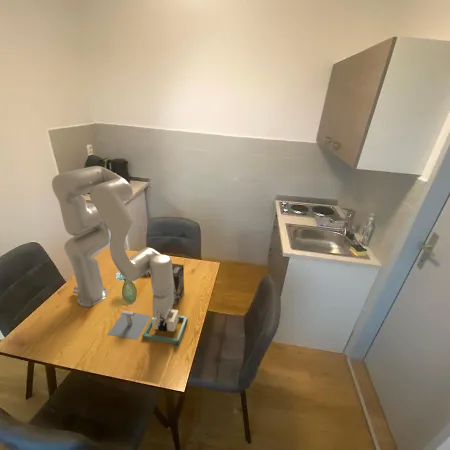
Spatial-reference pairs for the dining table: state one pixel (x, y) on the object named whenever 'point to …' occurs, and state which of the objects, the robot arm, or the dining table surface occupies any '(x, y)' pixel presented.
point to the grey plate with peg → (129, 325)
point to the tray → (166, 339)
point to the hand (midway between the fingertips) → (166, 323)
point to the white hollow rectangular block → (169, 320)
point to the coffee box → (178, 282)
